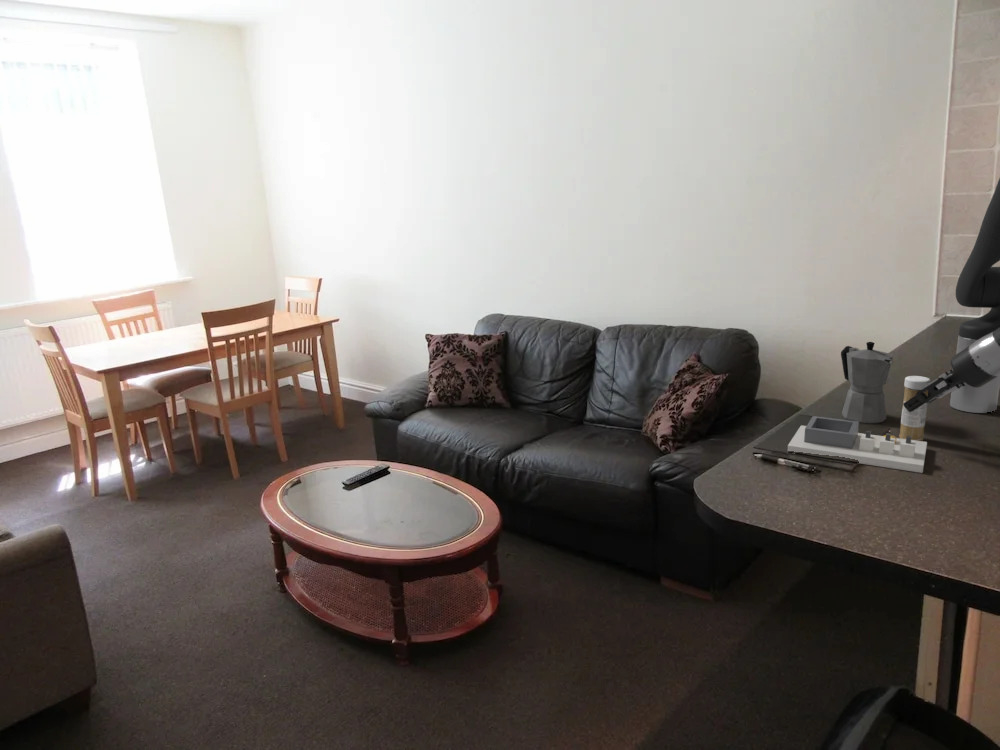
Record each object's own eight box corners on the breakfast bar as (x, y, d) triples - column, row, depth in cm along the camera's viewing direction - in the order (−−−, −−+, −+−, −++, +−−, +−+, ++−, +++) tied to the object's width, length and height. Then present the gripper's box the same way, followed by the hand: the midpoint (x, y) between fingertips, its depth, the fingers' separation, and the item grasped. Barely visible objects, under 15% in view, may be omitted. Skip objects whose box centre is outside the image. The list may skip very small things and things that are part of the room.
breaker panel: (800, 431, 155) (802, 409, 154) (926, 448, 142) (929, 425, 141) (787, 452, 144) (788, 428, 142) (922, 472, 131) (925, 447, 130)
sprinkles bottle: (909, 434, 151) (916, 374, 147) (928, 440, 146) (935, 379, 143) (893, 437, 149) (899, 376, 146) (912, 444, 145) (919, 382, 142)
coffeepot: (902, 423, 157) (911, 345, 152) (866, 428, 155) (874, 349, 151) (854, 404, 172) (860, 333, 167) (820, 408, 170) (826, 336, 165)
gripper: (986, 337, 139) (919, 382, 151) (957, 349, 131) (887, 396, 143) (1014, 368, 137) (943, 411, 148) (985, 382, 128) (912, 426, 140)
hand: (916, 403), depth 146 cm, fingers open, 8 cm apart
